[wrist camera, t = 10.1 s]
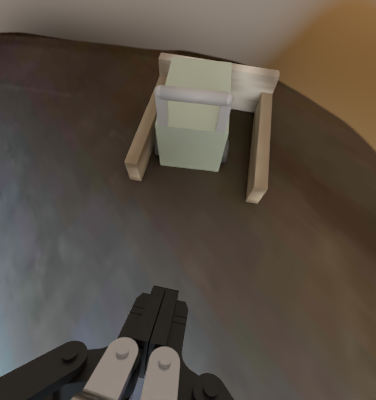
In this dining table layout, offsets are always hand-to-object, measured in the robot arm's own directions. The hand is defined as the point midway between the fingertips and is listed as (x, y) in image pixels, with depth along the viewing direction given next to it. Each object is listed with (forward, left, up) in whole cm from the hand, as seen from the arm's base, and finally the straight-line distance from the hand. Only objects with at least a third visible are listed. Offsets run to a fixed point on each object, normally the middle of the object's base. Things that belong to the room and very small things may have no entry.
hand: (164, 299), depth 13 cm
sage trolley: (-1, +18, -6) cm, 20 cm away
